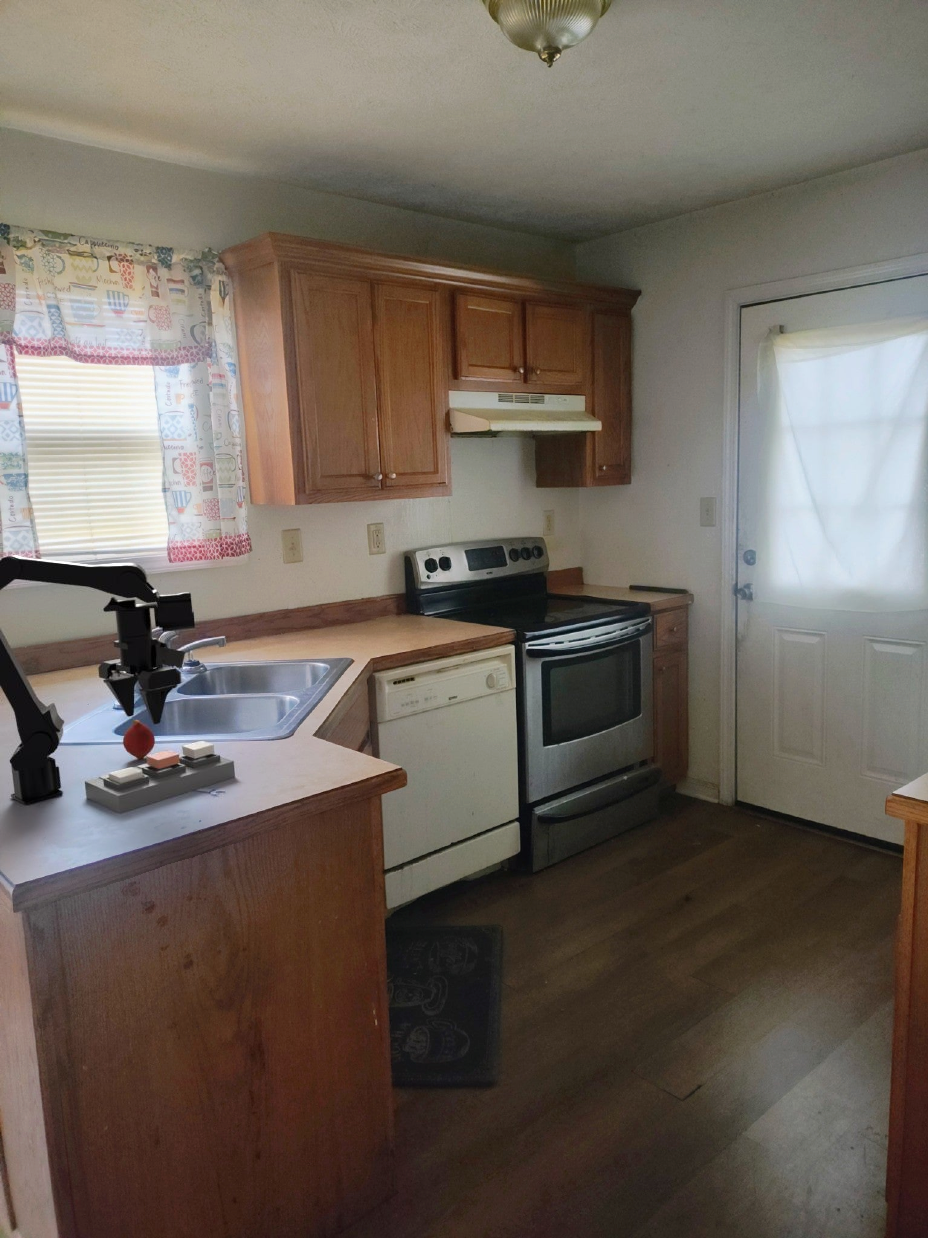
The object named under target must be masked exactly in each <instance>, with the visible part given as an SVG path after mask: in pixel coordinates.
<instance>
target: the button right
mask: <svg viewBox="0 0 928 1238" xmlns="http://www.w3.org/2000/svg"><path fill="white" fill-rule="evenodd" d="M181 747H182V753H183V755H186V756H189V757H192V758H199V757H202V756H206V755H209V754H213V753H214V754H215V745H214V743H210V742H208V741H203V740H199V741H196V742H193V743H189V744H185V745H182V746H181Z"/></svg>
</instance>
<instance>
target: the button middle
mask: <svg viewBox="0 0 928 1238" xmlns="http://www.w3.org/2000/svg"><path fill="white" fill-rule="evenodd" d="M145 757H146V764H147V765H149V766H152V767H155V768H158V769H160V768H164V767H167V766H171V765H174V764H178V763H180V761H179V753H176V752H174V751H171V750H162V751H160V752H156V753H151V754H147V755H146V756H145Z"/></svg>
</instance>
